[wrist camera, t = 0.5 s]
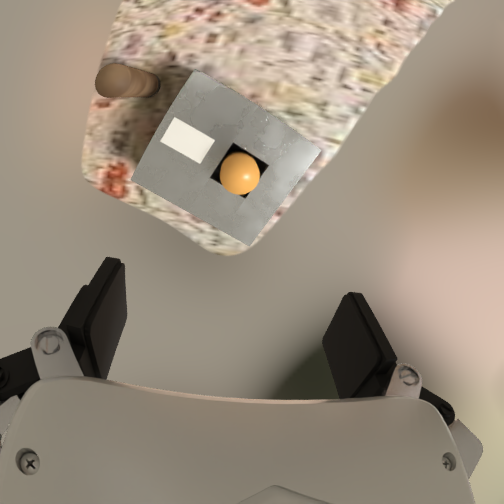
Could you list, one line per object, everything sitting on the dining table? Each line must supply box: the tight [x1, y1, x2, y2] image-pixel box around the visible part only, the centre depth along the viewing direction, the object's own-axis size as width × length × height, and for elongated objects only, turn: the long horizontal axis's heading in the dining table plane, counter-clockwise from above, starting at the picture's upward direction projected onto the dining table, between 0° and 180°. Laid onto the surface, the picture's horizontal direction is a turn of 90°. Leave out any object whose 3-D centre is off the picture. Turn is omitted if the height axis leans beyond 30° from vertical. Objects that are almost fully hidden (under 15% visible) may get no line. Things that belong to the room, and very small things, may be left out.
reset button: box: [220, 150, 260, 195], centre depth 30 cm, size 4×4×4 cm
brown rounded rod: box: [95, 63, 160, 98], centre depth 24 cm, size 3×3×12 cm
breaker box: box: [131, 69, 321, 246], centre depth 32 cm, size 16×14×6 cm
